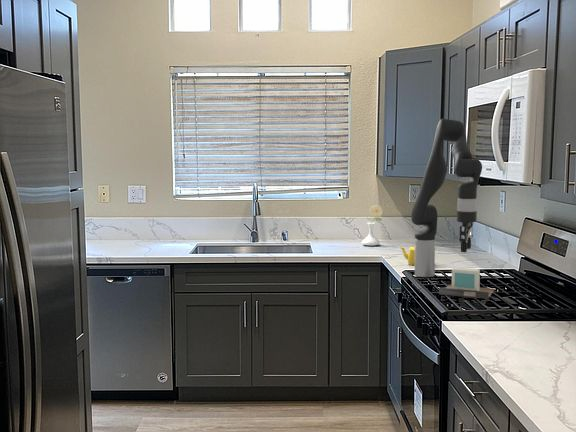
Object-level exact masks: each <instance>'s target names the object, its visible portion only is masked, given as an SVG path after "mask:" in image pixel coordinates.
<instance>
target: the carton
mask: <svg viewBox="0 0 576 432" xmlns="http://www.w3.org/2000/svg"><path fill="white" fill-rule="evenodd" d="M480 273H481V269H480V268H471V267H469V268H468V267H456V266H455V267H452V269H451V285H452V289H462V290H473V291H479V288H480V287H481V286H480V282H481V281H480V280H481V279H480V277H481V274H480Z"/></svg>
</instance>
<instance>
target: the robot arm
mask: <svg viewBox="0 0 576 432" xmlns="http://www.w3.org/2000/svg"><path fill="white" fill-rule="evenodd" d="M444 141H446V142H452V143H454V142H455V143H454V144H453V145H452V147H451V155H452V157H453V158H452V159H453V160H454V166H453V171H454V172H453V173H454V174H455V176H457V177H459V178H470V179H469V181H467V182H463V183H460V184H459V185H458V188H457V204H456V222H458V223H461V226H459V242H460V252H461V253H466V252H467V251H468V250H470V249H471V248H472V239H473V236H474V235H473V233H474V230H473V229H474V223H476V222H477V215H478V202H477V201H478V200H477V193H478V192H477V189H478V184H479V179H480V177H481V175H482V170H483V165H482V162H481V160H480V159H477V158H473V154H472V151H471V149H470V148H469V145H468V140H467V135H466V127H465V125H464V123H463V122H462V121H460V120H456V119H450V118H449V119H448V118H441V119H440V120H439V121H438V123H437V125H436V129H435V133H434V139H433V144H432V147H431V148H432V149H431V152H430V155H429V159H428V162H427V164H426V168H425V171H424V174H423V179H422V183H421V185H420V189H419V192H418V194H417V196H416V199H415V202H414V203H413V206H412V210H411V216H410V218H411V222H412V223H413V224H414V225H416V226H422V228H421V229H420V230H418V231H416V232H415V233H414V247H415V266H414V276H415V277H416V276H417V277H418V278H419V277H421V278H432V277H435V269H436V268H435V267H436V263H435V262H436V235H437V230H438V210H437V208H436V206H435V205H433V204H429V203H430V200H431V199H432V198H433V197H434V196H435V195H436V193H437V192H438V191H439V190H440V189H441V187H442V186H443V185H444V183H445V179H446V176H447V173H448V165H447V162H446V159H445V156H444V152H443V143H444Z"/></svg>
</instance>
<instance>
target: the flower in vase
mask: <svg viewBox="0 0 576 432" xmlns="http://www.w3.org/2000/svg"><path fill="white" fill-rule="evenodd" d="M383 212H384V210H383V208H382V207H381V205H377V204H375V205H372V206H371V207H370V209H369V213H370V214H371V217H372V216H373V217H374V219H371V218H369V217H366V219H367V220H369V221H372V222H366V224H367V226H368V235H367V236H366V237H365V238H364V239H362V241H361V244H362V245H364V246H370V247H371V246H372V247H374V246H378V245H380V244H381V241H380V240H379V239H378V238H377V237H375V235H374V226H375V224H376V222H380V221H382V218H380V217H381V216H382V215H383ZM374 221H376V222H374Z"/></svg>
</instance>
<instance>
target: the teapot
mask: <svg viewBox="0 0 576 432" xmlns="http://www.w3.org/2000/svg"><path fill="white" fill-rule="evenodd" d="M398 248H399V249H401V250H402V253H403V257H404V259H406V260H407V263H408V265H409V266H414V267H415V246H410V247H409V249H408V253H407V252H406V249H405V247H403V246H402V247H401V246H399V247H398Z"/></svg>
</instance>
